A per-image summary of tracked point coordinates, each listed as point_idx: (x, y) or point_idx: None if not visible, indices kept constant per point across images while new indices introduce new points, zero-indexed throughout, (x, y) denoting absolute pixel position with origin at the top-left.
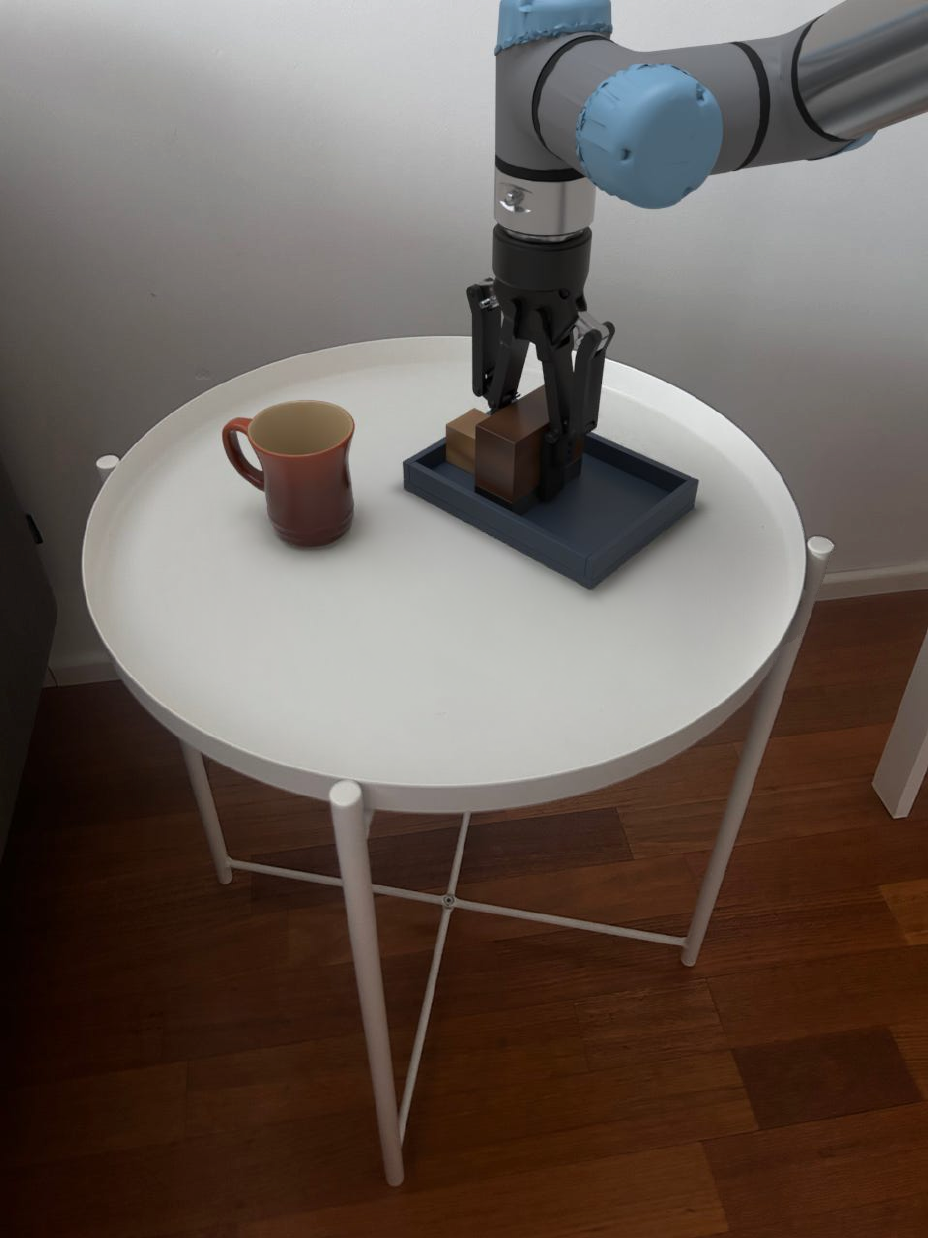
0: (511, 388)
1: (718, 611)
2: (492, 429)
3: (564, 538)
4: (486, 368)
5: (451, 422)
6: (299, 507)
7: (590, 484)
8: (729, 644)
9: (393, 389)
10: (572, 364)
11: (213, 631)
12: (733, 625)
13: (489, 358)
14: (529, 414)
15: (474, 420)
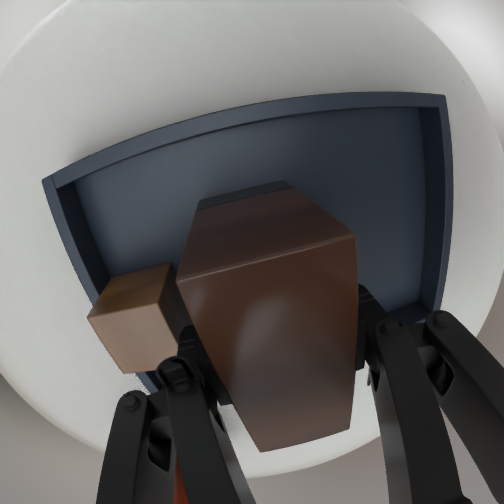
0: (219, 427)
1: (488, 223)
2: (292, 443)
3: (372, 294)
4: (166, 477)
5: (121, 366)
6: None
7: (317, 187)
8: (498, 244)
9: None
10: (454, 462)
11: (254, 465)
12: (496, 226)
13: (162, 496)
14: (301, 396)
15: (126, 339)
